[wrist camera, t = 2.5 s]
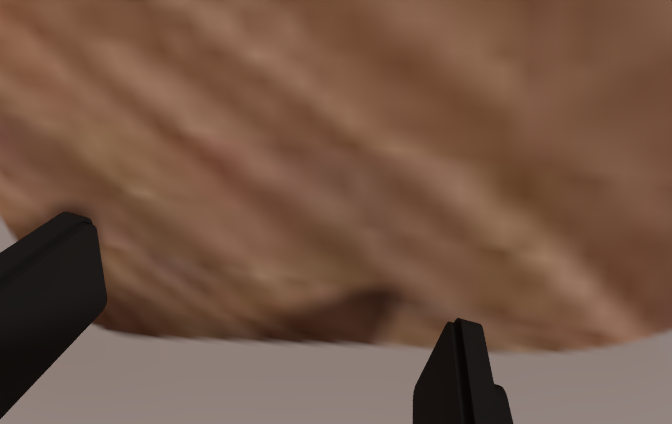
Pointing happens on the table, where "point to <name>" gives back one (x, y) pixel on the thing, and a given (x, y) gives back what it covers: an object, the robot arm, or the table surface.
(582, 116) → the table surface
